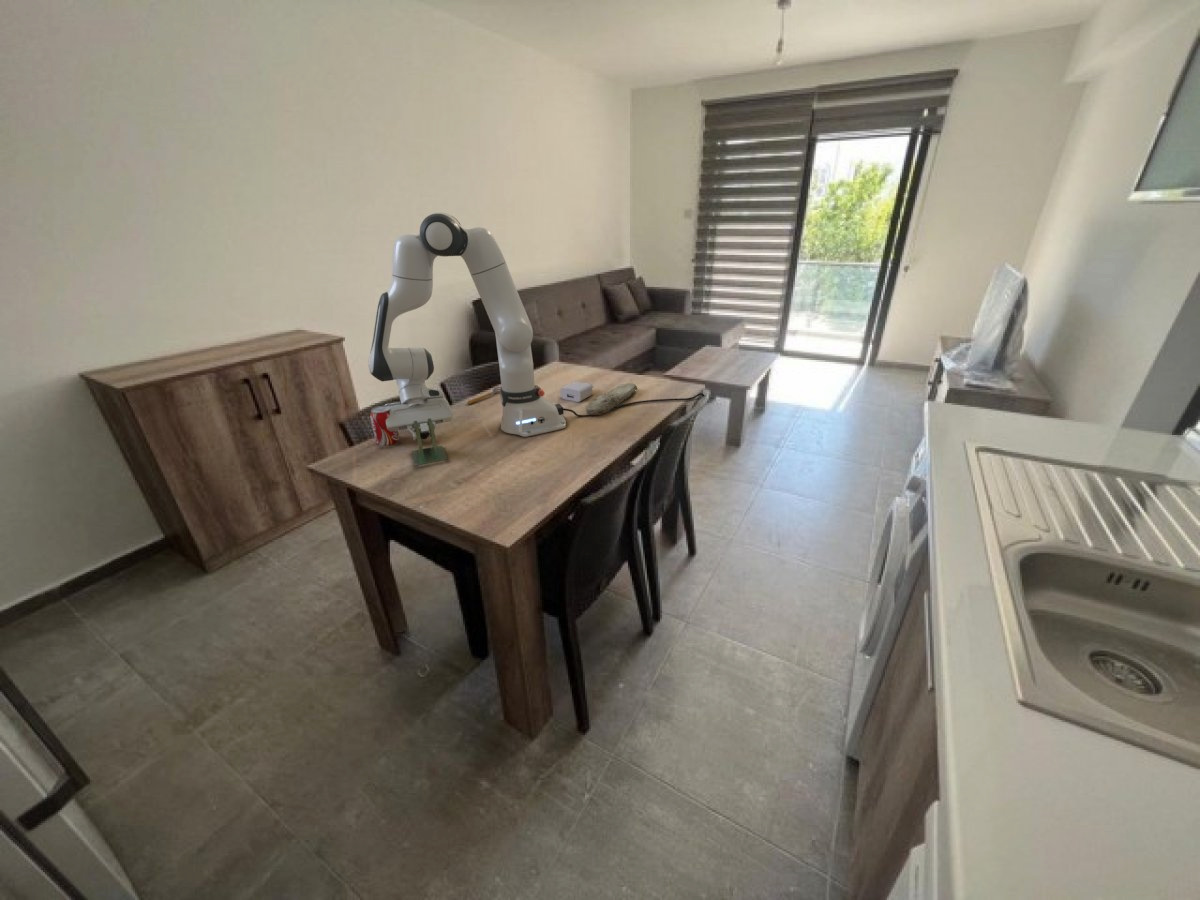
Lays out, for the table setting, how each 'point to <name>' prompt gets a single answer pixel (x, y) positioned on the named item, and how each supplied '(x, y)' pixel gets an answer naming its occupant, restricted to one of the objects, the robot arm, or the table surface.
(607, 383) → the table surface
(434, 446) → the bracket
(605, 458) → the table surface
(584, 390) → the charger
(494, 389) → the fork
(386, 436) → the soda can
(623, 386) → the elongated rock
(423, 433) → the lever
